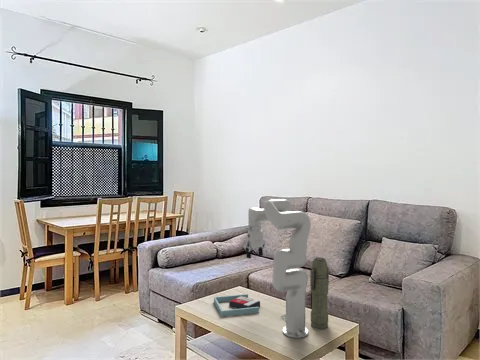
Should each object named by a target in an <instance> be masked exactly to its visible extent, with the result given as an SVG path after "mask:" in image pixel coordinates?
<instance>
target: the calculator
mask: <svg viewBox="0 0 480 360" xmlns="http://www.w3.org/2000/svg"><path fill="white" fill-rule="evenodd" d="M228 305H229V306H228V307H230V308H233V309H242V308H252V307H259V308H261V301H260V300H259V299H254V298H251V297H248V298H247V297H242V296H240V297H238V298H236V299H233V300H231V301H228Z"/></svg>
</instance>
